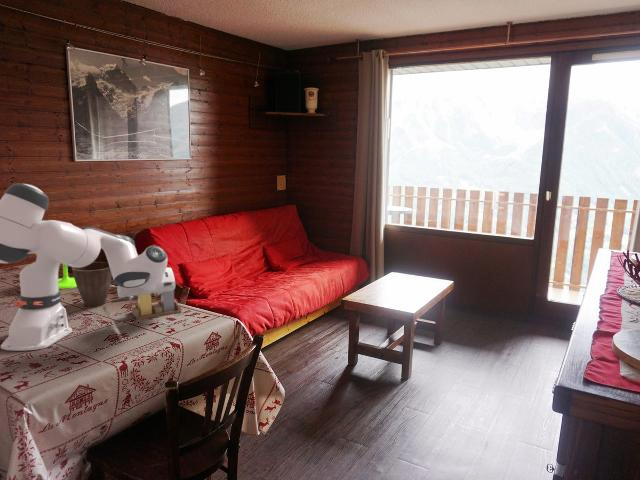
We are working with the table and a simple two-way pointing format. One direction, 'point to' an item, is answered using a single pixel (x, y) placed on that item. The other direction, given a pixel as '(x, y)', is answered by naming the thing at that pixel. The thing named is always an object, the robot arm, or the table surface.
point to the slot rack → (156, 310)
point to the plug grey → (167, 301)
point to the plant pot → (93, 282)
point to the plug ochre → (144, 304)
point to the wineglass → (66, 280)
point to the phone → (123, 299)
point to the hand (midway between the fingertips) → (144, 296)
